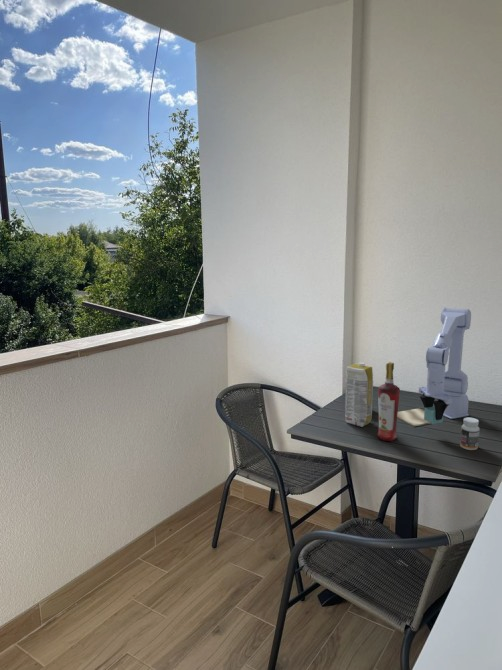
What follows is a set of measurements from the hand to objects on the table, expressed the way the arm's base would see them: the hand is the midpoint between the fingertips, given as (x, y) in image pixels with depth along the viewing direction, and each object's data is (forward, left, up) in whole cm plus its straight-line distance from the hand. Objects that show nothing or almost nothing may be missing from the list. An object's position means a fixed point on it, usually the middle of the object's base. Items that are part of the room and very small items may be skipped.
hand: (433, 417), depth 170 cm
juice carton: (+17, -22, -8) cm, 29 cm away
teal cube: (0, 0, -1) cm, 1 cm away
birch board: (-7, -17, -7) cm, 20 cm away
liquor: (+16, -5, -8) cm, 18 cm away
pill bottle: (-5, +12, -8) cm, 15 cm away
